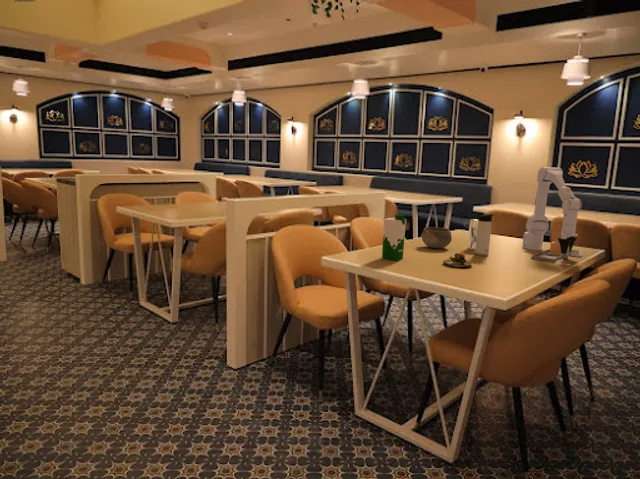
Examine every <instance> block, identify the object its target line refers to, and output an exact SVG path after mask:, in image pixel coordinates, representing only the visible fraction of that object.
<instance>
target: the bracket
mask: <svg viewBox="0 0 640 479" xmlns="http://www.w3.org/2000/svg"><path fill="white" fill-rule="evenodd" d="M582 253H583V251H582V250H579V249H578V250H577V249H572V250H571V252H569V256H571V257H577V258H580V257H581V256H582ZM569 256H568V257H569Z"/></svg>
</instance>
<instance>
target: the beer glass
mask: <svg viewBox="0 0 640 479" xmlns="http://www.w3.org/2000/svg"><path fill="white" fill-rule="evenodd" d="M478 219H479V218H478ZM478 219H477V218H476V219H475V218H473V219H472V218H471V219H470V221H469V227H468V234H469V242H468V243H469V244H468V247H467V248H468V249H469V250H474V251H475V247H476V237H477V227H478Z"/></svg>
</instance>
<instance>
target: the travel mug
mask: <svg viewBox="0 0 640 479" xmlns="http://www.w3.org/2000/svg"><path fill="white" fill-rule="evenodd" d="M493 217H494V214H493V213H491V214H479V215H478V227H477V237H476V247H475V250H474V255H475V256H480V257H488V256H489V252H490V242H491V231H492V221H493V220H492V219H493Z"/></svg>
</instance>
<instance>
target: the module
mask: <svg viewBox="0 0 640 479" xmlns="http://www.w3.org/2000/svg"><path fill="white" fill-rule="evenodd" d="M549 249H550V254H555V255H562V253H561V249H560V243H559V241H558V240H554V241H551V242H550V248H549Z"/></svg>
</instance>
